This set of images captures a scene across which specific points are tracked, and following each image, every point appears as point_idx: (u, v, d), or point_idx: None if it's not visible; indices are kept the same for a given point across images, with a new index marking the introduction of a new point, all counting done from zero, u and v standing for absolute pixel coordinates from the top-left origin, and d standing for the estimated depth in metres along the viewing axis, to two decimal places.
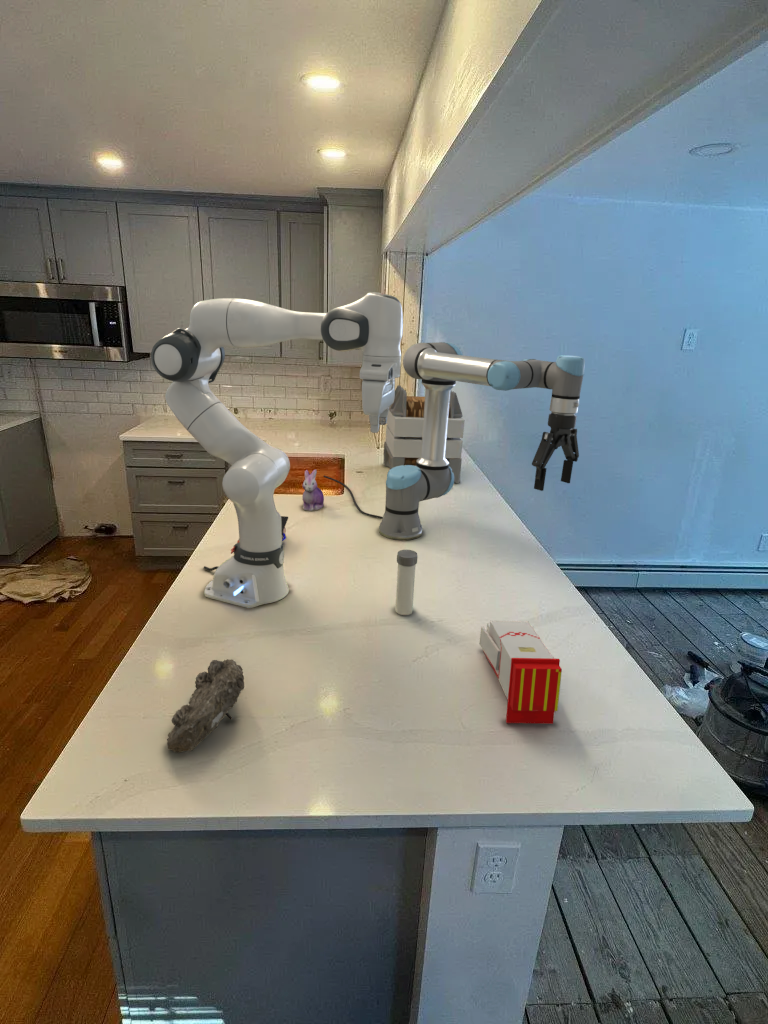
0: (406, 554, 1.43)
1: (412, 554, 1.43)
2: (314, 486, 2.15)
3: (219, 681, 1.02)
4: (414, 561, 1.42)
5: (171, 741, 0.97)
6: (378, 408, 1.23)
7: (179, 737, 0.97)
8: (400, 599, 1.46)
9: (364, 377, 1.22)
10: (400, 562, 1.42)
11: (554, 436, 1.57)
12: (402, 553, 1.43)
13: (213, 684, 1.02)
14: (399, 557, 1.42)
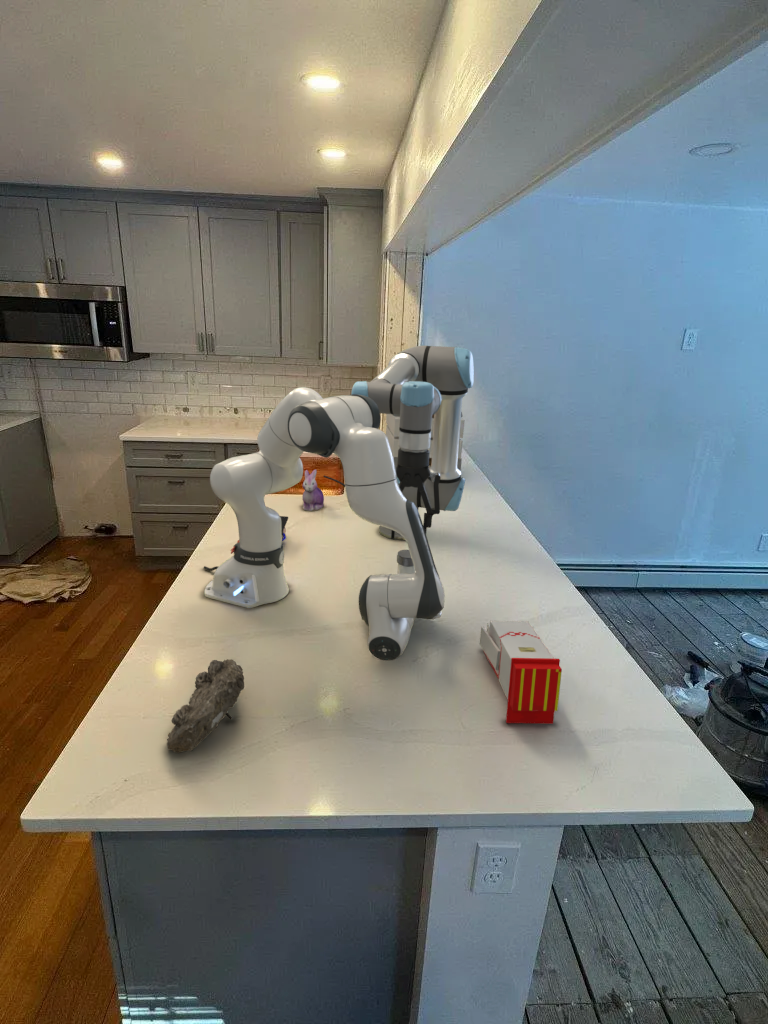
0: (406, 554, 1.43)
1: None
2: (314, 486, 2.15)
3: (219, 681, 1.02)
4: None
5: (171, 741, 0.97)
6: None
7: (179, 737, 0.97)
8: None
9: None
10: (400, 562, 1.42)
11: None
12: (402, 553, 1.43)
13: (213, 684, 1.02)
14: (399, 557, 1.42)
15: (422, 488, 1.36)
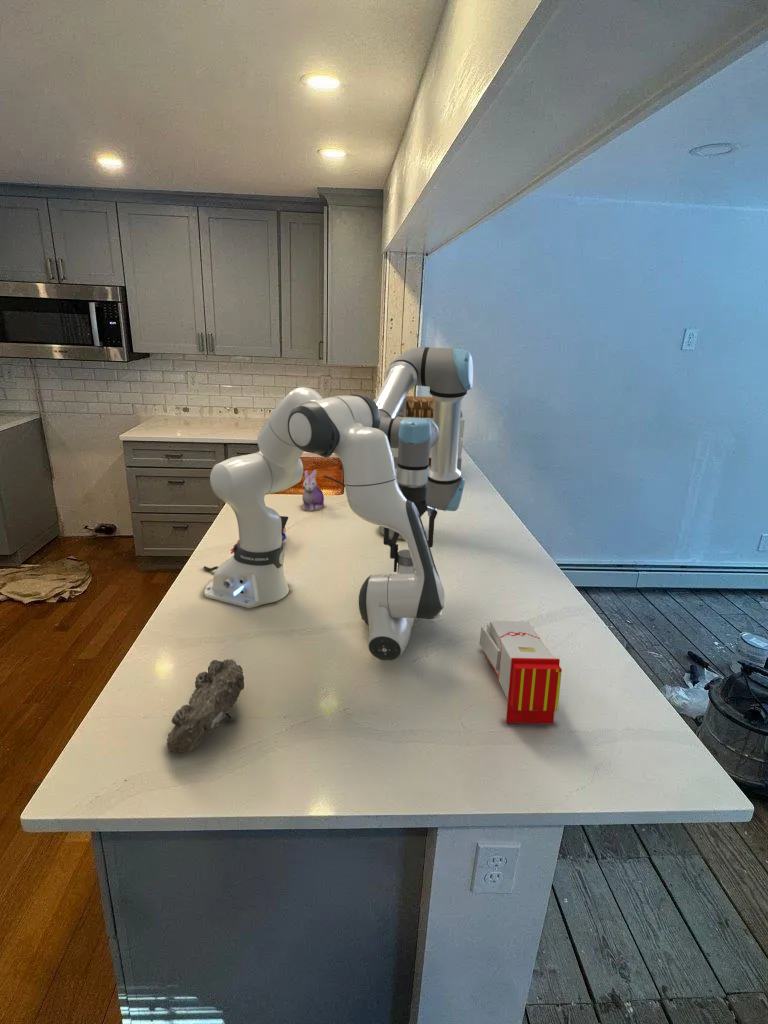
0: (406, 554, 1.43)
1: None
2: (314, 486, 2.15)
3: (219, 681, 1.02)
4: None
5: (171, 741, 0.97)
6: None
7: (179, 737, 0.97)
8: None
9: None
10: (400, 562, 1.42)
11: None
12: (402, 553, 1.43)
13: (213, 684, 1.02)
14: (399, 557, 1.42)
15: None
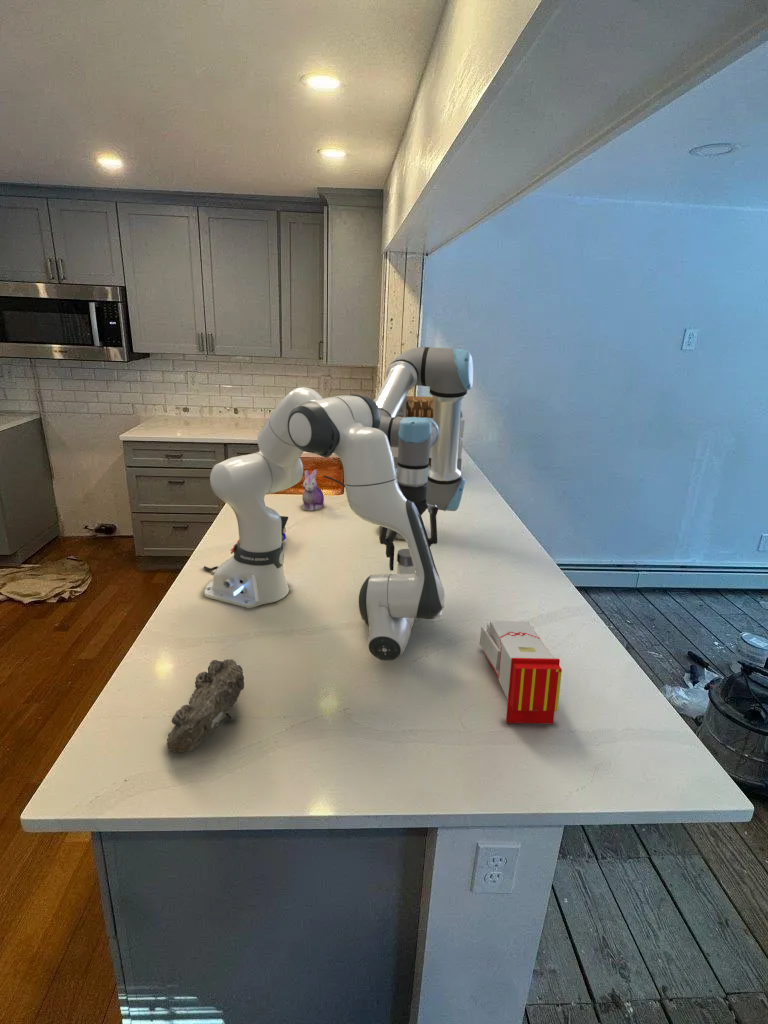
0: (409, 553, 1.43)
1: None
2: (314, 486, 2.15)
3: (219, 681, 1.02)
4: None
5: (171, 741, 0.97)
6: None
7: (179, 737, 0.97)
8: None
9: None
10: None
11: None
12: (408, 554, 1.42)
13: (213, 684, 1.02)
14: None
15: None
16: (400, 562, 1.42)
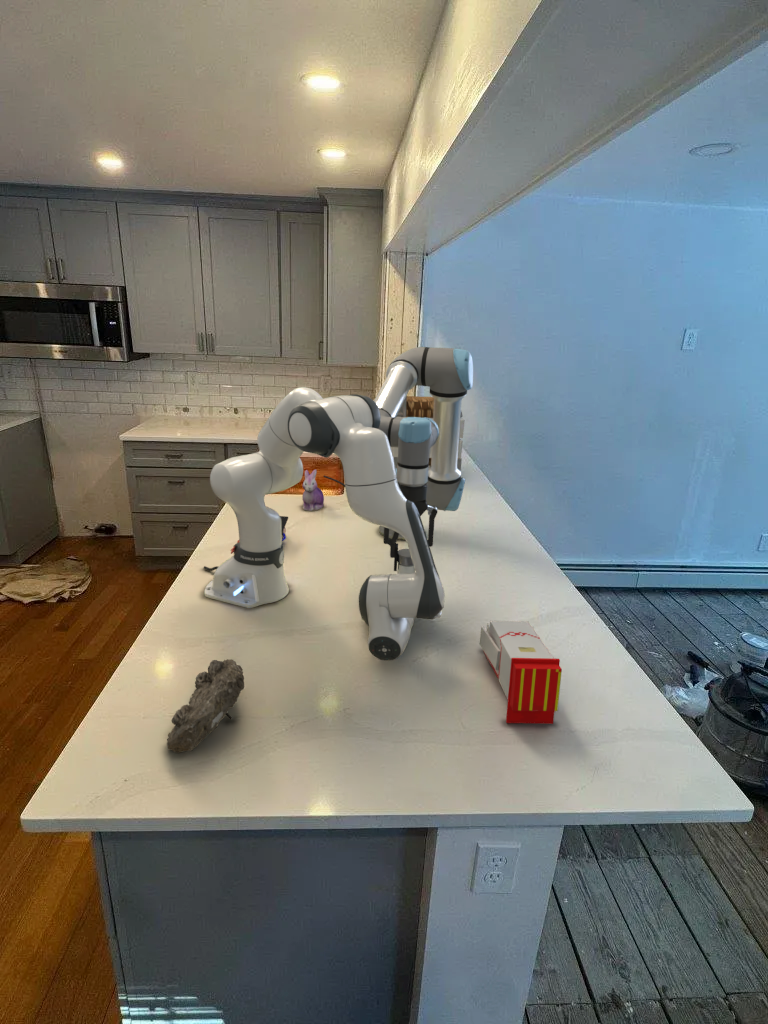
0: (409, 553, 1.43)
1: None
2: (314, 486, 2.15)
3: (219, 681, 1.02)
4: None
5: (171, 741, 0.97)
6: None
7: (179, 737, 0.97)
8: None
9: None
10: None
11: None
12: (408, 554, 1.42)
13: (213, 684, 1.02)
14: None
15: None
16: (400, 562, 1.42)
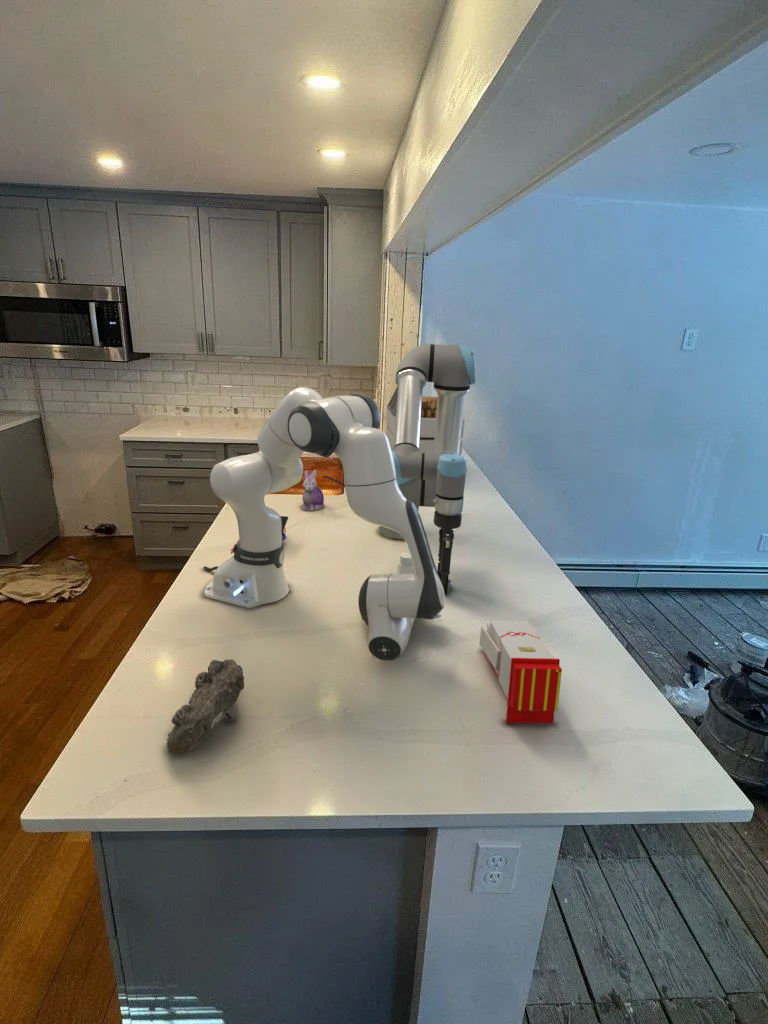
0: None
1: None
2: (314, 486, 2.15)
3: (219, 681, 1.02)
4: None
5: (171, 741, 0.97)
6: None
7: (179, 737, 0.97)
8: None
9: None
10: None
11: None
12: None
13: (213, 684, 1.02)
14: None
15: None
16: (448, 590, 1.60)
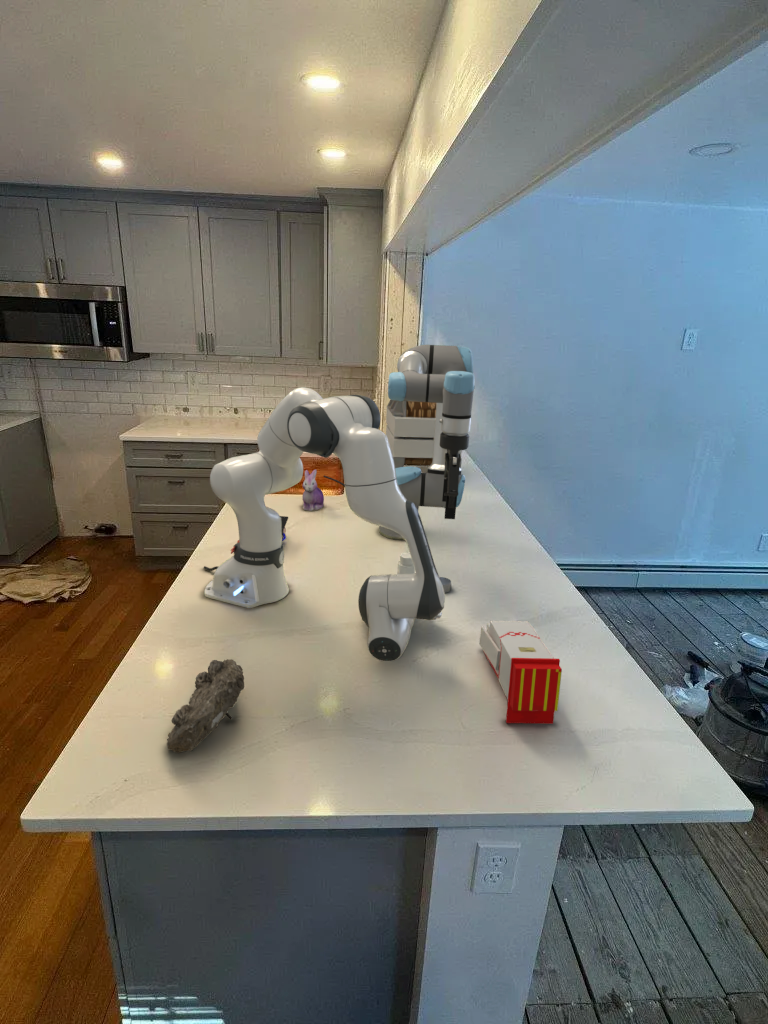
0: (443, 580, 1.62)
1: None
2: (314, 486, 2.15)
3: (219, 681, 1.02)
4: None
5: (171, 741, 0.97)
6: None
7: (179, 737, 0.97)
8: None
9: None
10: None
11: None
12: (446, 581, 1.61)
13: (213, 684, 1.02)
14: None
15: None
16: (448, 590, 1.60)
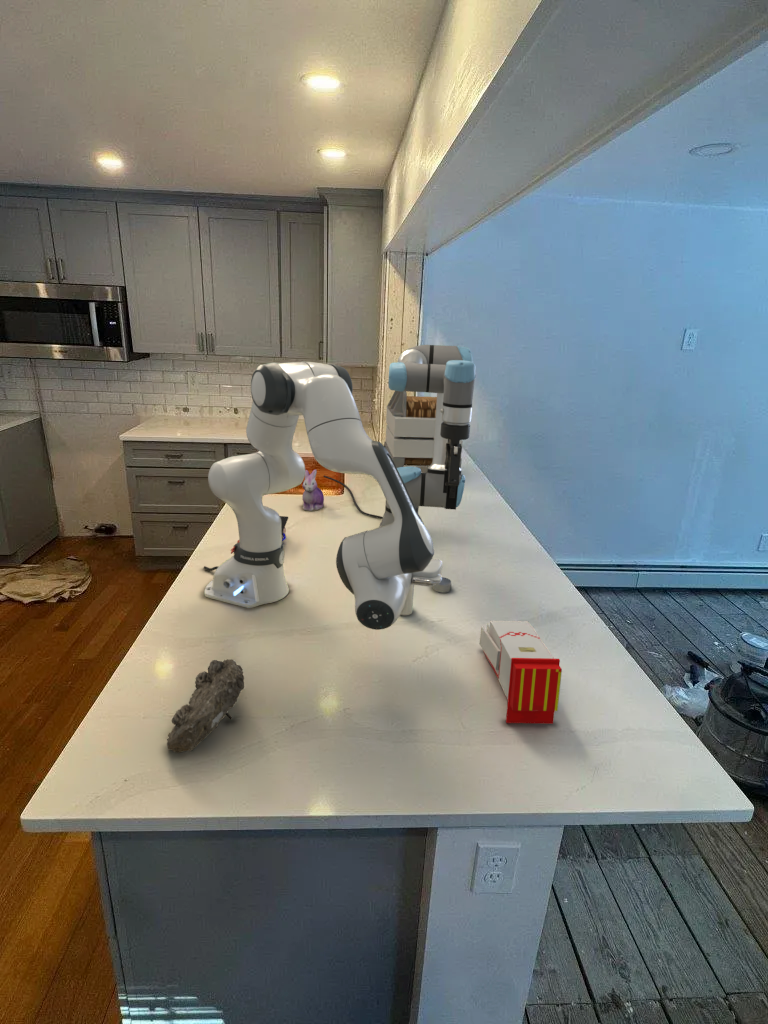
0: (443, 580, 1.62)
1: None
2: (314, 486, 2.15)
3: (219, 681, 1.02)
4: None
5: (171, 741, 0.97)
6: None
7: (179, 737, 0.97)
8: None
9: None
10: None
11: None
12: (446, 581, 1.61)
13: (213, 684, 1.02)
14: None
15: None
16: (448, 590, 1.60)
